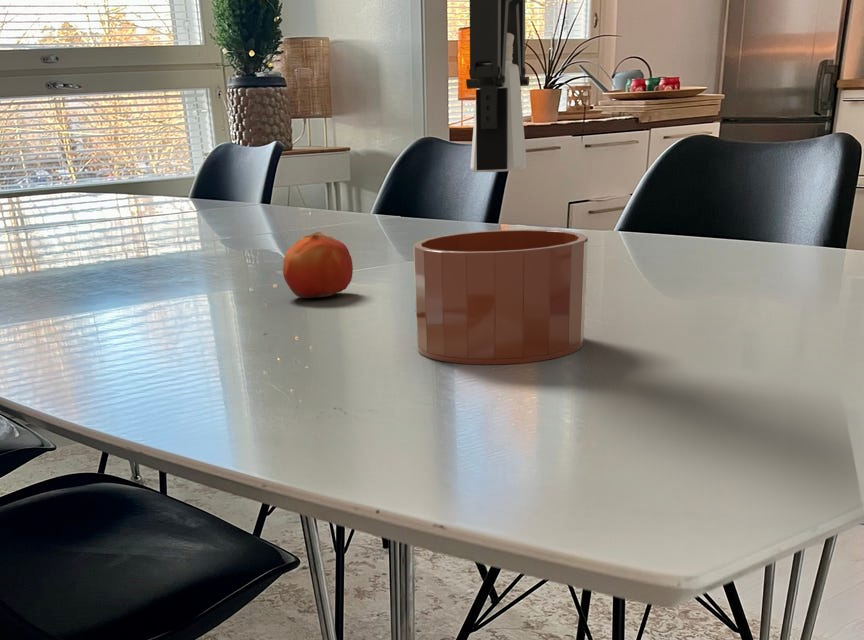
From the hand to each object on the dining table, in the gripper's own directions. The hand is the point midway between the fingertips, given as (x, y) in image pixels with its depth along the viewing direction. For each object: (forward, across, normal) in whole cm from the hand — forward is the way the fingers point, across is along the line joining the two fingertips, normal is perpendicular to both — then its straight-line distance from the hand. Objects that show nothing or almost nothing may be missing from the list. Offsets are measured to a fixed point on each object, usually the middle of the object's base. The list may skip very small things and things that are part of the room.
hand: (498, 166), depth 96 cm
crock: (+17, 0, 0) cm, 17 cm away
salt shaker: (+1, 0, 0) cm, 1 cm away
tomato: (+17, -28, -30) cm, 44 cm away
